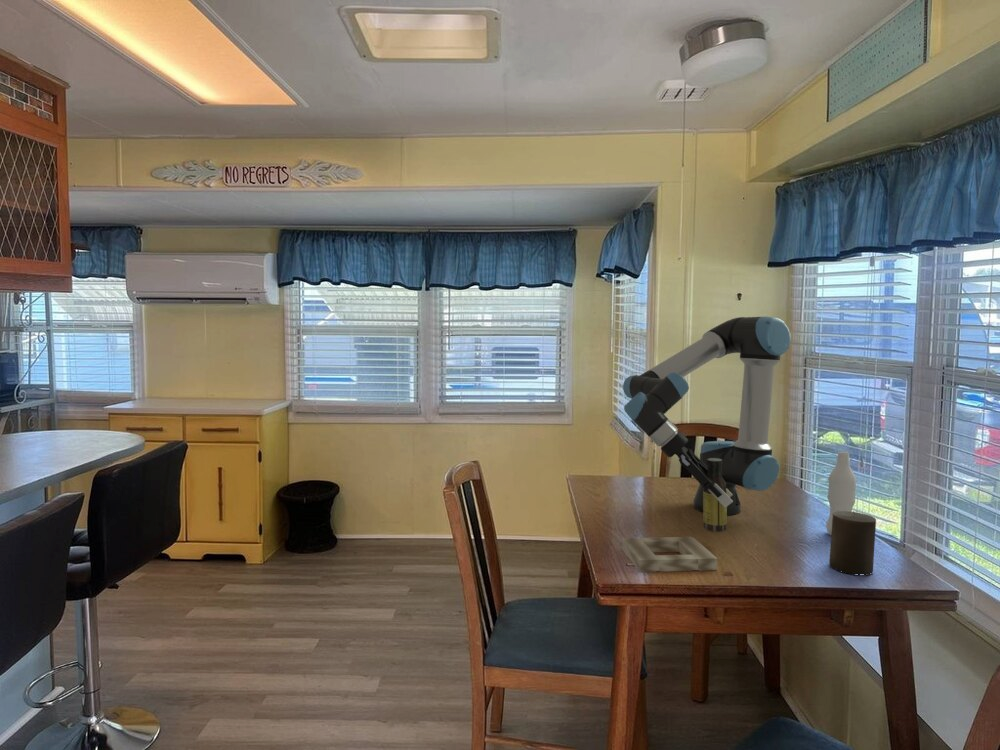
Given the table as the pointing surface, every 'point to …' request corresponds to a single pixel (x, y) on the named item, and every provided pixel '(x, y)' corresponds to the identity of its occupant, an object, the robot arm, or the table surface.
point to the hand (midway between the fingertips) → (728, 500)
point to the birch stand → (689, 559)
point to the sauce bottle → (714, 499)
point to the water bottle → (841, 487)
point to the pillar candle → (852, 542)
